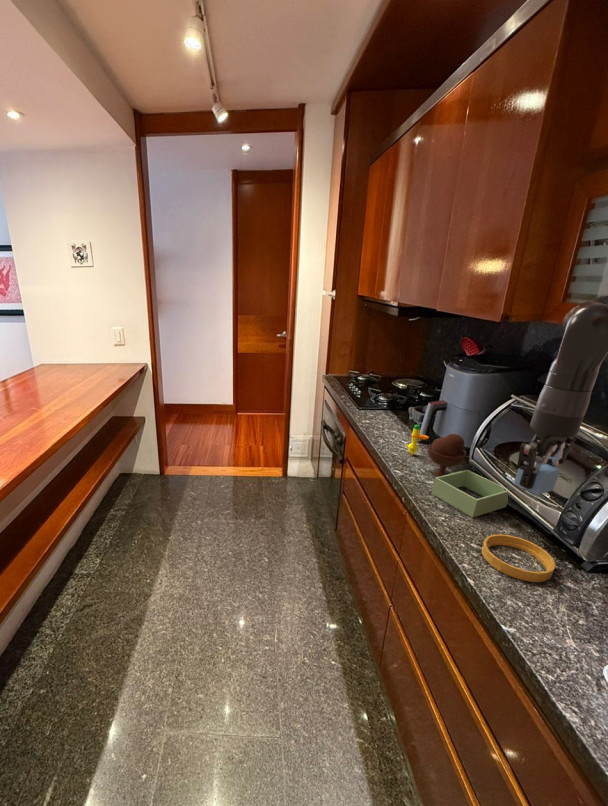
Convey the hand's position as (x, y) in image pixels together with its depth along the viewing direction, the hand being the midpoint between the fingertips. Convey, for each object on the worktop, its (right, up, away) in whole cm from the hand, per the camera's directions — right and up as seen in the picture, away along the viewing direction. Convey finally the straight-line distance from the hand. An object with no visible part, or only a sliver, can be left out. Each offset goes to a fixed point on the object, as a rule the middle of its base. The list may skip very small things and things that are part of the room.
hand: (534, 484), depth 82 cm
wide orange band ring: (0, -19, +5) cm, 19 cm away
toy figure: (+2, +2, +56) cm, 56 cm away
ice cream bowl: (+4, -3, +43) cm, 43 cm away
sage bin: (+4, -9, +29) cm, 30 cm away
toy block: (0, -1, 0) cm, 1 cm away
